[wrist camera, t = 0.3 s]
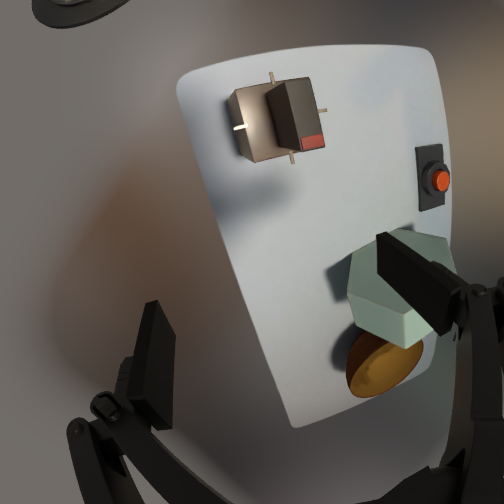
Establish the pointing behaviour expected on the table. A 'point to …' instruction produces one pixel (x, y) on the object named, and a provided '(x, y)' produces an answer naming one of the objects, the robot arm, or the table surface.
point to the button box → (430, 176)
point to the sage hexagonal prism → (391, 291)
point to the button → (440, 180)
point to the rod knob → (295, 116)
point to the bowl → (379, 364)
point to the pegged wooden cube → (257, 122)
